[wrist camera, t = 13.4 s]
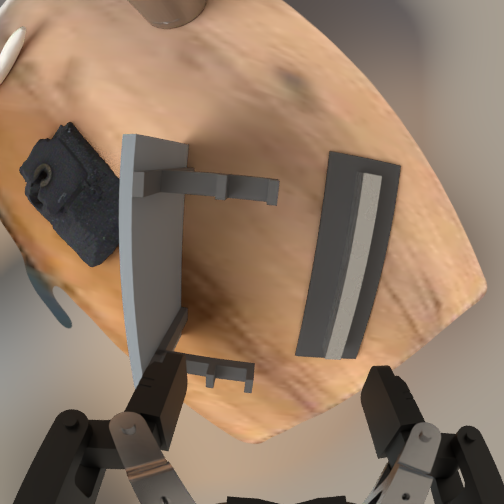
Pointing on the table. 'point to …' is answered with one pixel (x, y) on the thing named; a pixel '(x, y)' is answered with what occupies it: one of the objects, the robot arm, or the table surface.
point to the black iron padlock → (75, 193)
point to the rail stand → (167, 249)
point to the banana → (11, 51)
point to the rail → (352, 263)
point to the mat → (332, 251)
